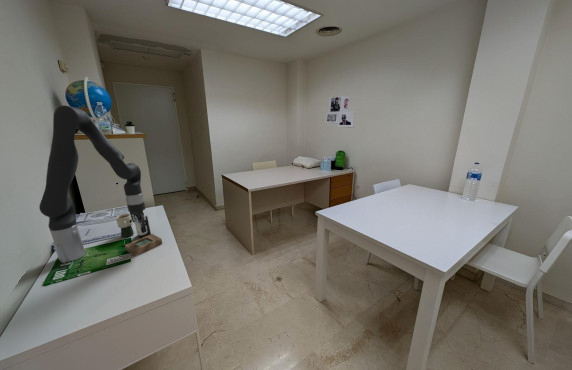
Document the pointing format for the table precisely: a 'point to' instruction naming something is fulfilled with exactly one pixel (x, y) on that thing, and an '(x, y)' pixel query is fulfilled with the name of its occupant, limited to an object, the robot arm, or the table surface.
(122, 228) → the character mug
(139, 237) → the phone stand
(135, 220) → the white rounded cylinder
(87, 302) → the table surface
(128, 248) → the wooden frame
